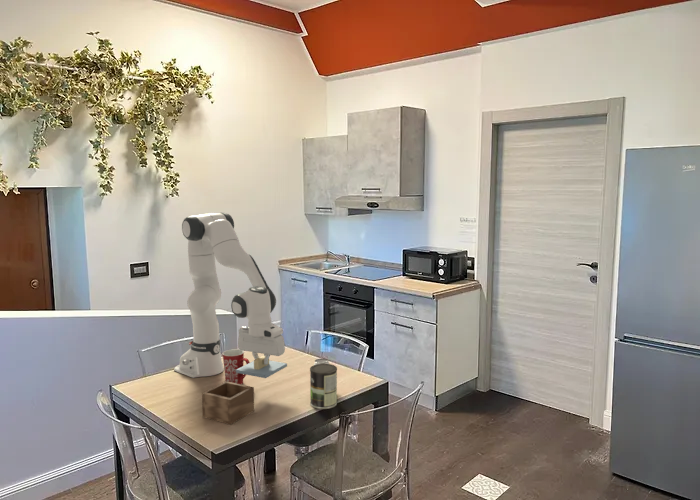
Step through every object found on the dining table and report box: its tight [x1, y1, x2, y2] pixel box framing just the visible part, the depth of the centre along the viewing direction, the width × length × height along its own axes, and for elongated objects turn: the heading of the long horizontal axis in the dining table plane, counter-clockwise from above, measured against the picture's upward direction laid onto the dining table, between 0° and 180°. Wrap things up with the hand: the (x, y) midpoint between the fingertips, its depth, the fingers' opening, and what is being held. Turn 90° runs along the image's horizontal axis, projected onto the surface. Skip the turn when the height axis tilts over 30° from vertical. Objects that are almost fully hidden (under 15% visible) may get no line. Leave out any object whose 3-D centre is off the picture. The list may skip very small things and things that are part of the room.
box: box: [201, 381, 255, 426], centre depth 191 cm, size 13×13×9 cm
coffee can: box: [309, 363, 338, 410], centre depth 200 cm, size 10×10×14 cm
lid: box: [236, 354, 288, 379], centre depth 204 cm, size 14×14×6 cm
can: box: [313, 358, 330, 365], centre depth 215 cm, size 6×6×12 cm
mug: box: [221, 348, 251, 385], centre depth 220 cm, size 13×9×14 cm
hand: (261, 363), depth 204 cm, fingers closed on lid
